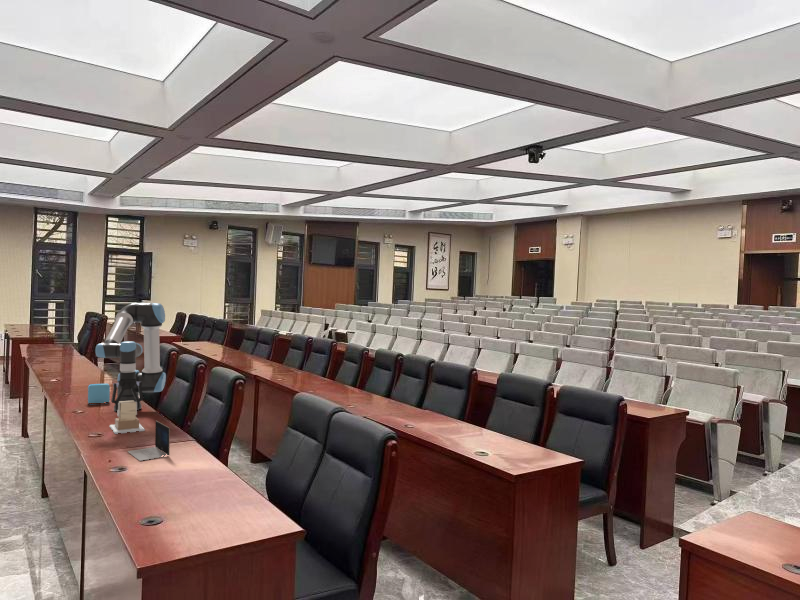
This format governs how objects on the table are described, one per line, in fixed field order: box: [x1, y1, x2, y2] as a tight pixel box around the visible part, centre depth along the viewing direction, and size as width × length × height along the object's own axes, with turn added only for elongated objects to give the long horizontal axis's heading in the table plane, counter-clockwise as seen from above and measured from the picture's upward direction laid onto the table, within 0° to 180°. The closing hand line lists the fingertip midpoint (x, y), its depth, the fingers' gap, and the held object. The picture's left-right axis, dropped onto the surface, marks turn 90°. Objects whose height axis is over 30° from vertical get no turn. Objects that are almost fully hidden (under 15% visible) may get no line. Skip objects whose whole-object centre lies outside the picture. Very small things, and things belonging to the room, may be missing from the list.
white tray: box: [109, 416, 146, 435], centre depth 308 cm, size 18×14×5 cm
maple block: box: [118, 400, 137, 421], centre depth 308 cm, size 7×7×9 cm
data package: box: [87, 383, 111, 404], centre depth 372 cm, size 12×4×12 cm, turn 119°
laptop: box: [127, 420, 171, 462], centre depth 262 cm, size 18×12×13 cm
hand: (127, 415), depth 308 cm, fingers open, 7 cm apart
